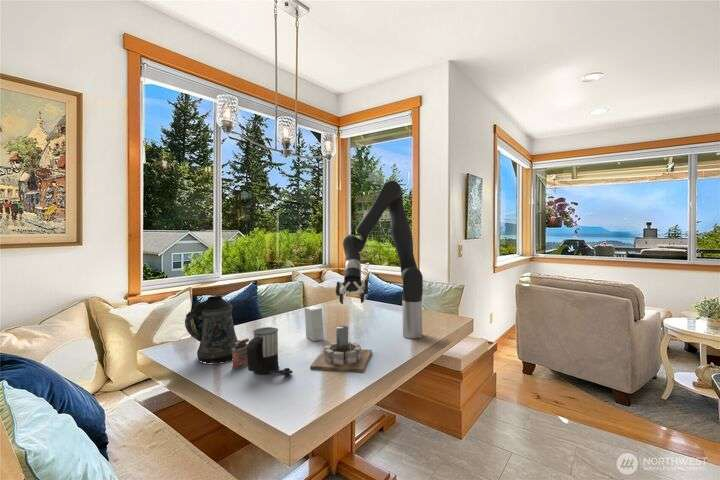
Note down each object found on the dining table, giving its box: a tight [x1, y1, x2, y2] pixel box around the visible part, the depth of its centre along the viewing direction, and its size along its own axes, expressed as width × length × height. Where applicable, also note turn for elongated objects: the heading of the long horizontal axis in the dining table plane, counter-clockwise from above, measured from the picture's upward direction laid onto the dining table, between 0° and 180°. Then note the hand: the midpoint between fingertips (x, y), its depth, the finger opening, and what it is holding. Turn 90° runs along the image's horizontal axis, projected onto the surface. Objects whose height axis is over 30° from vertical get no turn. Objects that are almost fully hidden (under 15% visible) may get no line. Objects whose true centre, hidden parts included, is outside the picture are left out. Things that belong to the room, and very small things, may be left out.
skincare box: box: [304, 305, 325, 342], centre depth 163 cm, size 8×6×15 cm
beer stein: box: [184, 295, 238, 364], centre depth 139 cm, size 16×19×25 cm
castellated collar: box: [309, 341, 373, 373], centre depth 134 cm, size 20×20×5 cm
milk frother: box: [247, 326, 293, 377], centre depth 124 cm, size 14×16×15 cm
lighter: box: [231, 337, 250, 371], centre depth 130 cm, size 8×3×10 cm, turn 148°
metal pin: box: [335, 325, 349, 359], centre depth 134 cm, size 5×5×12 cm
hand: (351, 302), depth 146 cm, fingers open, 8 cm apart
